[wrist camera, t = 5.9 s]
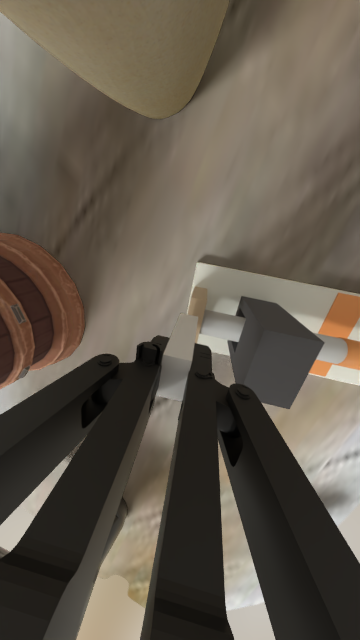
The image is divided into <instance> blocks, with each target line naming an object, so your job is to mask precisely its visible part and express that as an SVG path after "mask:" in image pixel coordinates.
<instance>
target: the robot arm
mask: <svg viewBox="0 0 360 640" xmlns="http://www.w3.org/2000/svg"><path fill="white" fill-rule="evenodd" d="M197 323H198V317H197V316H193V315H188V314H183V313H180V315H179V318H178V320H177V323H176V325H175V327H174V330H173V332H172V334H171V337H170V338H168V337H163V336H159V335H158V336H156V337H154V338H153V339H152V341H151V342H143V343H140V344H139V345H137V353H136V360H135V361H134V362H132V363H119V359H118V357H116V356H114V355H111V354H101V355H98V356H95V357H94V358H92V359H90V360H89V361H87V362H85V363H84V364H82V365H81V366H79V367H77V368H76V369H74V370H72V371H71V372H69V373H68V374H66V375H64V376H63V377H61V378H59V379H58V380H56V381H55V382H53V383H51V384H50V385H48V386H46V387H45V388H43V389H42V390H40V391H38V392H37V393H35V394H33V395H32V396H30V397H29V398H27V399H25V400H24V401H22V402H20V403H19V404H17V405H16V406H14V407H12V408H11V409H9V410H7V411H6V412H4V413H3V414H1V415H0V525H1V524H2V523H3V522H4V521H5V520H6V519H7V518H8V517H9V515H10V514H11V513H12V512H13V511H14V510H15V509H16V508H17V507H18V506H19V505H20V504H21V503H22V502H23V501H24V500H25V499H26V498H27V497H28V496H29V495H30V494H31V493H32V492H33V491H34V489H35V488H36V487H37V486H38V485H39V484H40V483H41V482H42V481H43V480H44V479H45V478H46V477H47V476H48V475H49V474H50V473H51V472H52V471H53V470H54V469H55V468H56V467H57V466H58V464H59V463H60V462H61V461H62V460H63V459H64V458H65V457H66V456H67V455H68V454H69V453H70V452H71V451H72V450H73V449H74V448H75V447H76V446H77V445H78V444H79V443H80V442H81V440H82V439H83V438H84V437H85V436H86V435H87V434H88V435H87V437H86V438H85V440H84V441H83V443H82V444H81V446H80V447H79V449H78V451H77V452H76V454H75V455H74V457H73V458H72V460H71V462H70V463H69V465H68V466H67V468H66V469H65V471H64V473H63V474H62V476H61V477H60V479H59V480H58V482H57V484H56V485H55V487H54V488H53V490H52V491H51V493H50V494H49V496H48V498H47V499H46V501H45V502H44V504H43V505H42V507H41V509H40V510H39V512H38V513H37V515H36V516H35V518H34V520H33V521H32V523H31V524H30V526H29V528H28V529H27V531H26V532H25V534H24V535H23V537H22V538H21V540H20V541H19V543H18V544H17V545H16V546H15V548H13V550H12V551H11V552H9V551H8V550H5V549H4V548H2V547H0V640H76V638H77V635H78V632H79V629H80V626H81V623H82V620H83V617H84V614H85V611H86V608H87V605H88V602H89V599H90V596H91V593H92V590H93V587H94V584H95V581H96V578H97V575H98V572H99V569H100V567H101V564H102V563H103V561H104V559H105V557H106V556H107V554H108V552H109V550H110V549H111V547H112V545H113V543H114V541H115V540H116V538H117V536H118V534H119V533H120V531H121V529H122V527H123V525H124V521H125V518H126V515H127V506H126V504H125V502H124V500H123V499H122V495H123V492H124V490H125V487H126V484H127V481H128V478H129V475H130V472H131V469H132V466H133V463H134V460H135V457H136V455H137V452H138V449H139V446H140V443H141V440H142V437H143V434H144V431H145V428H146V425H147V422H148V419H149V417H150V414H151V411H152V408H153V405H154V401H155V395H156V396H160V397H164V398H168V399H172V400H177V401H181V402H182V405H181V409H180V413H179V418H178V420H179V421H178V426H177V432H176V438H175V443H174V449H173V455H172V461H171V466H170V472H169V478H168V484H167V489H166V495H165V501H164V506H163V512H162V518H161V524H160V529H159V535H158V541H157V546H156V552H155V558H154V564H153V569H152V575H151V581H150V586H149V592H148V598H147V604H146V609H145V616H144V621H143V627H142V632H141V637H140V640H234V637H233V634H232V631H231V628H230V625H229V623H228V620H227V614H226V606H225V590H224V568H223V546H222V524H221V502H220V480H219V458H218V441H219V444H220V448H221V451H222V455H223V458H224V462H225V465H226V469H227V472H228V476H229V479H230V483H231V486H232V490H233V493H234V497H235V500H236V504H237V507H238V510H239V514H240V517H241V521H242V524H243V528H244V531H245V535H246V538H247V542H248V545H249V549H250V552H251V556H252V559H253V563H254V566H255V570H256V573H257V577H258V580H259V583H260V587H261V590H262V594H263V597H264V601H265V604H266V608H267V611H268V615H269V618H270V622H271V625H272V629H273V632H274V636H275V639H276V640H360V563H359V562H358V560H357V558H356V557H355V555H354V554H353V552H352V551H351V549H350V547H349V546H348V544H347V542H346V541H345V539H344V537H343V536H342V534H341V532H340V531H339V529H338V527H337V526H336V524H335V523H334V521H333V519H332V518H331V516H330V514H329V513H328V511H327V509H326V508H325V506H324V505H323V503H322V501H321V500H320V498H319V496H318V495H317V493H316V492H315V490H314V488H313V487H312V485H311V483H310V482H309V480H308V478H307V477H306V475H305V474H304V472H303V470H302V469H301V467H300V465H299V464H298V462H297V461H296V459H295V457H294V456H293V454H292V452H291V451H290V449H289V447H288V446H287V444H286V443H285V441H284V439H283V438H282V436H281V434H280V433H279V431H278V429H277V428H276V426H275V425H274V423H273V421H272V420H271V418H270V416H269V415H268V413H267V412H266V410H265V408H264V407H263V405H262V403H261V402H260V400H259V398H258V397H257V395H256V394H255V393H254V391H253V390H252V389H250V388H249V387H247V386H245V385H243V384H238V383H237V384H232V385H230V387H229V388H228V387H226V386H224V385H222V384H220V383H219V382H217V381H216V380H215V377H214V374H213V373H212V357H211V349H210V348H209V346H206V345H202V344H197V343H195V337H196V330H197ZM156 393H157V394H156Z"/></svg>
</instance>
